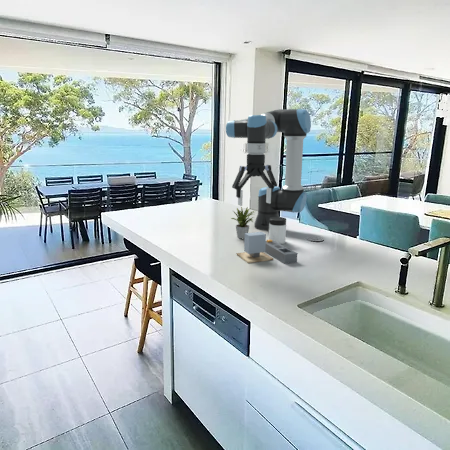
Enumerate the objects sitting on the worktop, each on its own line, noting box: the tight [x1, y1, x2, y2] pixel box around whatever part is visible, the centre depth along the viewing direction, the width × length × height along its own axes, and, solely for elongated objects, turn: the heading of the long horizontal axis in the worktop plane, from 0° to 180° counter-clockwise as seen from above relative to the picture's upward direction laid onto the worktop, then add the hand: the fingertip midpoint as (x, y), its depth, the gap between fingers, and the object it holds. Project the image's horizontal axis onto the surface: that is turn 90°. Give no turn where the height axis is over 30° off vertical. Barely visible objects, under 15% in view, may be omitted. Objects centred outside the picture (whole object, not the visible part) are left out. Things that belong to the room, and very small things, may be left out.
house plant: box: [230, 206, 256, 240], centre depth 191 cm, size 14×14×16 cm
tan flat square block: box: [235, 251, 274, 264], centre depth 164 cm, size 12×12×1 cm
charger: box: [243, 231, 267, 258], centre depth 163 cm, size 4×8×10 cm, turn 112°
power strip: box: [264, 239, 298, 265], centre depth 169 cm, size 28×6×5 cm, turn 22°
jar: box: [268, 216, 287, 245], centre depth 185 cm, size 9×8×12 cm
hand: (254, 204), depth 161 cm, fingers open, 13 cm apart
